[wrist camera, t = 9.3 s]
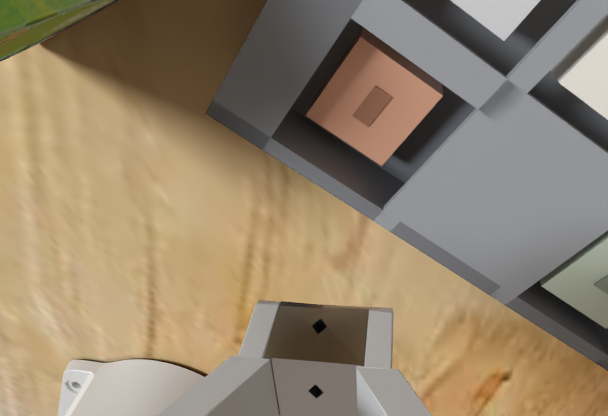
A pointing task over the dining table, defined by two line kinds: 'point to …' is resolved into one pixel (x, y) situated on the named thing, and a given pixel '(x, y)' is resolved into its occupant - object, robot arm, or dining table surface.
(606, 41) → the key cream
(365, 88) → the key terracotta
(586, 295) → the key sage
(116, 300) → the dining table surface
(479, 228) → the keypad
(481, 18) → the key grey
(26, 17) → the tea box
